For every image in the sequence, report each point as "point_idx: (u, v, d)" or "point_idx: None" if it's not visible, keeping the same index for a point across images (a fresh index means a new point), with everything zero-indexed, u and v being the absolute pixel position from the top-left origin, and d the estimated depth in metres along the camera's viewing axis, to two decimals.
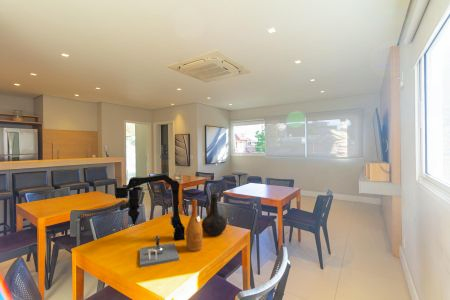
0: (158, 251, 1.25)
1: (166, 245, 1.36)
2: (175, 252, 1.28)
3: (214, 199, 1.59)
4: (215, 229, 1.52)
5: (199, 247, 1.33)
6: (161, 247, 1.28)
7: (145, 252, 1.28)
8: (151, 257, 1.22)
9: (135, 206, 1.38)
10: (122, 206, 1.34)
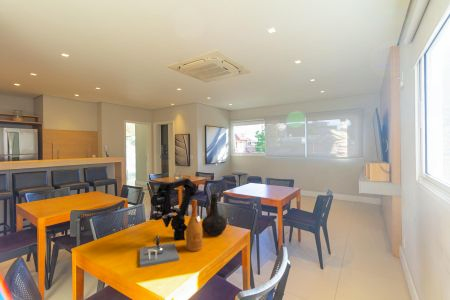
0: (158, 251, 1.25)
1: (166, 245, 1.36)
2: (175, 252, 1.28)
3: (214, 199, 1.59)
4: (215, 229, 1.52)
5: (199, 247, 1.33)
6: (161, 247, 1.28)
7: (145, 252, 1.28)
8: (151, 257, 1.22)
9: (163, 211, 1.37)
10: (154, 208, 1.41)
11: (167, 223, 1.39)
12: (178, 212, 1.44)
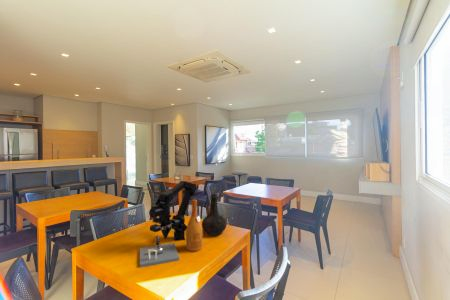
0: (158, 251, 1.25)
1: (166, 245, 1.36)
2: (175, 252, 1.28)
3: (214, 199, 1.59)
4: (215, 229, 1.52)
5: (199, 247, 1.33)
6: (161, 247, 1.28)
7: (145, 252, 1.28)
8: (151, 257, 1.22)
9: (162, 223, 1.37)
10: (153, 219, 1.40)
11: (166, 234, 1.38)
12: (177, 223, 1.43)
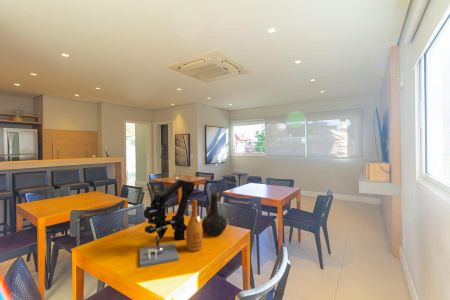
0: (158, 251, 1.25)
1: (166, 245, 1.36)
2: (175, 252, 1.28)
3: (214, 199, 1.59)
4: (215, 229, 1.52)
5: (199, 247, 1.33)
6: (161, 247, 1.28)
7: (145, 252, 1.28)
8: (151, 257, 1.22)
9: (157, 224, 1.35)
10: (148, 220, 1.38)
11: (161, 236, 1.36)
12: (173, 224, 1.41)
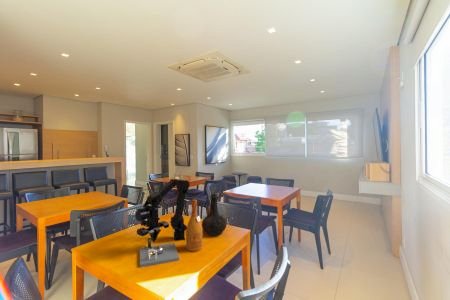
0: (161, 250, 1.26)
1: (166, 245, 1.36)
2: (175, 252, 1.28)
3: (214, 199, 1.59)
4: (215, 229, 1.52)
5: (199, 247, 1.33)
6: (160, 246, 1.29)
7: (145, 252, 1.28)
8: (151, 257, 1.22)
9: (150, 226, 1.31)
10: (141, 222, 1.35)
11: (154, 238, 1.33)
12: (166, 226, 1.37)
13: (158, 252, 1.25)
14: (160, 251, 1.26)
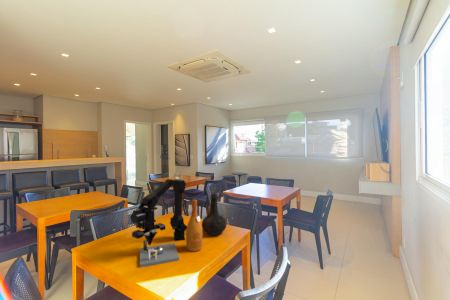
0: (162, 249, 1.27)
1: (166, 245, 1.36)
2: (175, 252, 1.28)
3: (214, 199, 1.59)
4: (215, 229, 1.52)
5: (199, 247, 1.33)
6: (159, 246, 1.29)
7: (145, 252, 1.28)
8: (151, 257, 1.22)
9: (146, 228, 1.28)
10: (136, 225, 1.31)
11: (150, 241, 1.29)
12: (162, 228, 1.34)
13: (160, 252, 1.26)
14: (162, 250, 1.27)
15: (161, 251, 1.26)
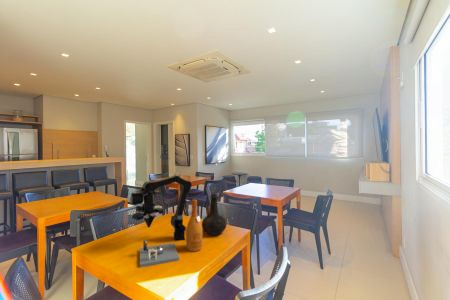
0: (162, 249, 1.27)
1: (166, 245, 1.36)
2: (175, 252, 1.28)
3: (214, 199, 1.59)
4: (215, 229, 1.52)
5: (199, 247, 1.33)
6: (159, 246, 1.29)
7: (145, 252, 1.28)
8: (151, 257, 1.22)
9: (145, 211, 1.36)
10: (136, 208, 1.39)
11: (149, 223, 1.37)
12: (161, 212, 1.42)
13: (160, 252, 1.26)
14: (162, 250, 1.27)
15: (161, 251, 1.26)
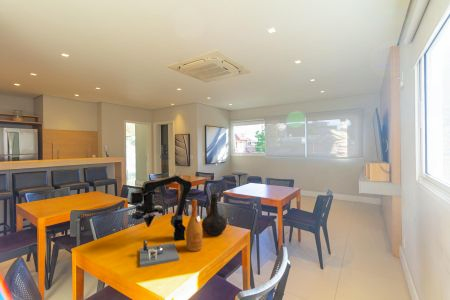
0: (162, 249, 1.27)
1: (166, 245, 1.36)
2: (175, 252, 1.28)
3: (214, 199, 1.59)
4: (215, 229, 1.52)
5: (199, 247, 1.33)
6: (159, 246, 1.29)
7: (145, 252, 1.28)
8: (151, 257, 1.22)
9: (145, 211, 1.37)
10: (136, 208, 1.40)
11: (148, 222, 1.38)
12: (160, 211, 1.43)
13: (160, 252, 1.26)
14: (162, 250, 1.27)
15: (161, 251, 1.26)
